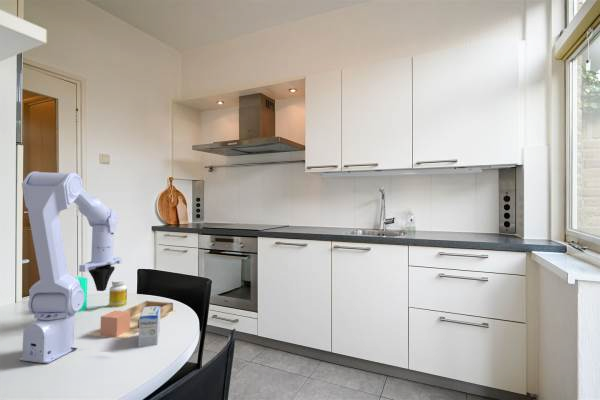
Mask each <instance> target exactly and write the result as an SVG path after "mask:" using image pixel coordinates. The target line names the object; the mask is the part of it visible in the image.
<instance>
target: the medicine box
mask: <svg viewBox="0 0 600 400" xmlns="http://www.w3.org/2000/svg"><path fill="white" fill-rule="evenodd" d="M160 311H161V308H160V306H151V307H144V308H143V310H142V313H141V315H140V319H139V332H138V348H144V347H152V346H158V343H159V336H160V331H161V330H160V329H161V319H160Z"/></svg>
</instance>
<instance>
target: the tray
mask: <svg viewBox="0 0 600 400" xmlns="http://www.w3.org/2000/svg"><path fill="white" fill-rule="evenodd" d="M151 306H160V308H161V311H160V320H162V319H163V318H164V319H165V318H166V317H167V316H169V315H171V314H173V313H174V312H175V309H174V303H173V302H169V301H168V302H165V301H154V300H153V301H152V300H146V301H143V302H140V303H138V304H137V305H133V306H132V307H129V308H128V309H125V310H124V311H125V312H130V330H128V331H126V332H125V333H123V334H121V335H119V336H117V337H113V336H103V335H100V328H99V329H96V330H94V331H92V332H90V333H87V336H92V337H93V336H94V337H104V338H112V339H121V340H123V339H124V340H127V339H129V338H131V337H132V336H134V335H135V334H139V319H140V315H141V313H142V310H143V308H144V307H151Z"/></svg>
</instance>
